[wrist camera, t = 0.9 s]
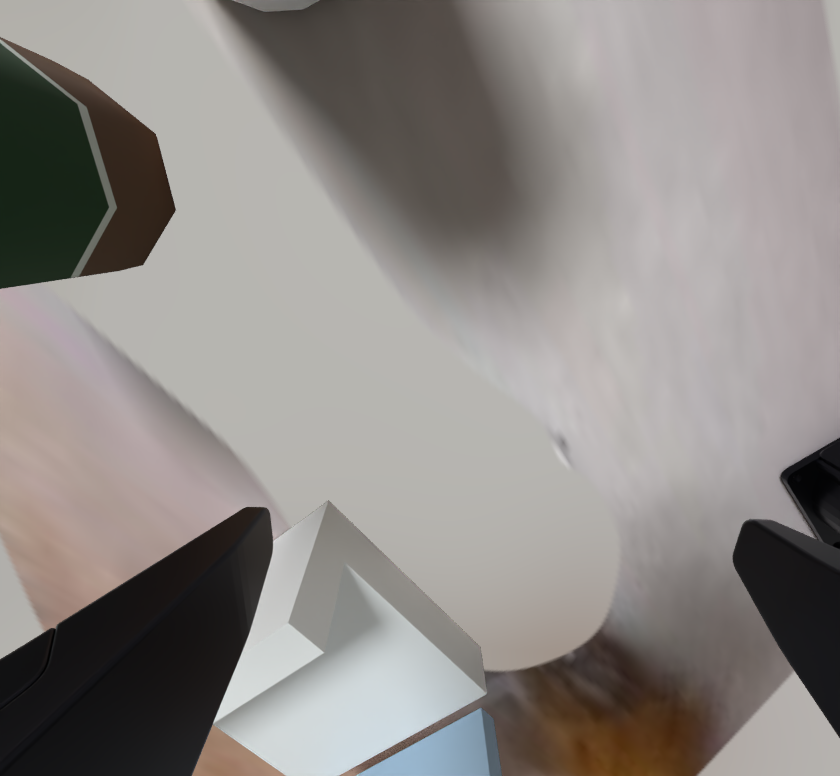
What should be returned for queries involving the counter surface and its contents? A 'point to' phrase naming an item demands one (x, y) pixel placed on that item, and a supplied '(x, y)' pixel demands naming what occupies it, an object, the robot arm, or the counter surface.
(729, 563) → the counter surface
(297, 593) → the white stepped block
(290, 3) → the supplement can
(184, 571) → the robot arm
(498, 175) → the counter surface
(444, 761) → the panel
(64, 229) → the beer bottle
